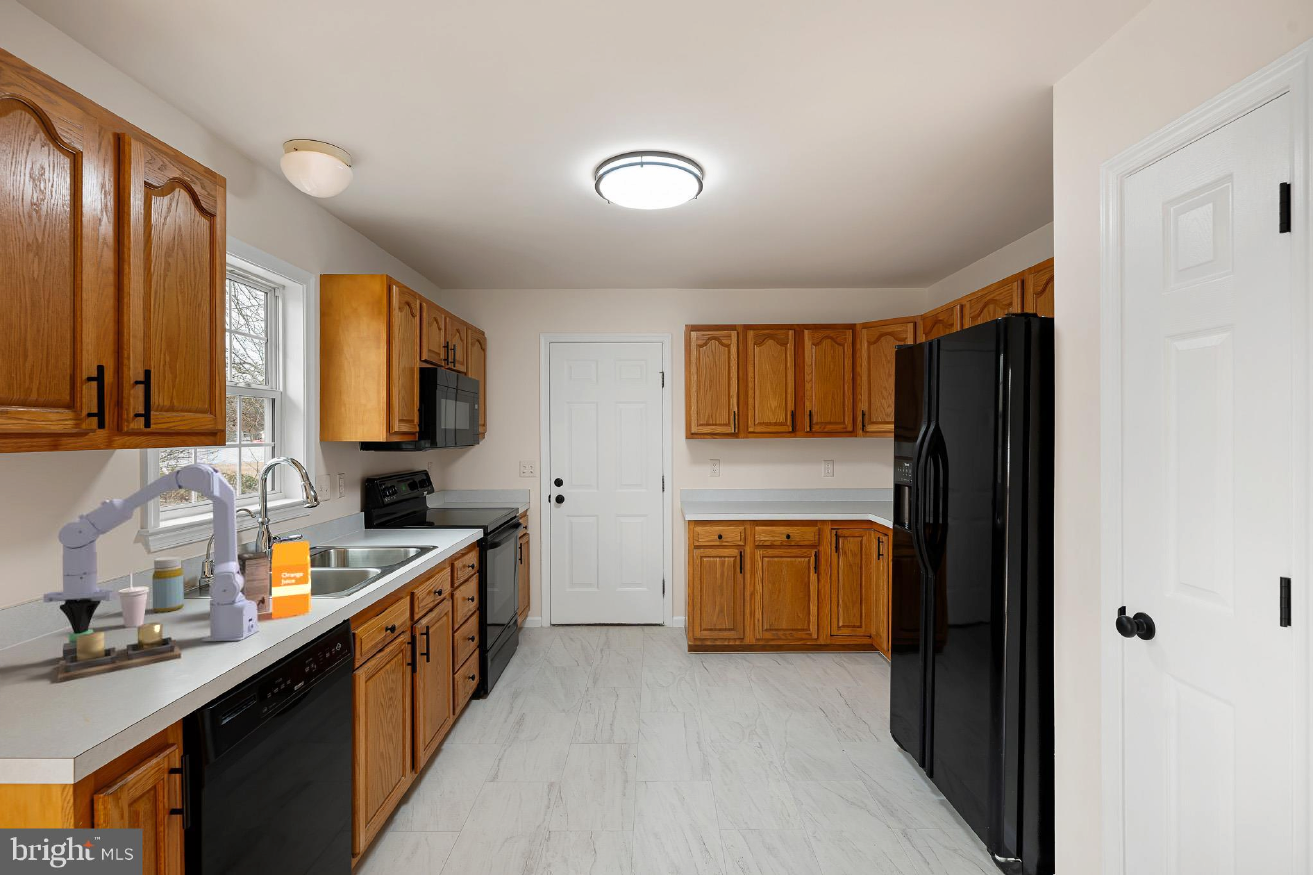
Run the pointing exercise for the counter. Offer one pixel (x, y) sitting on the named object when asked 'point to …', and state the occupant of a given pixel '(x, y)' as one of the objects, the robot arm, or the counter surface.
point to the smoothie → (133, 604)
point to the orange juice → (291, 579)
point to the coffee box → (255, 579)
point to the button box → (69, 649)
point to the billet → (150, 636)
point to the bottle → (167, 584)
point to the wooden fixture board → (111, 657)
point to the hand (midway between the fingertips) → (81, 632)
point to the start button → (74, 636)
